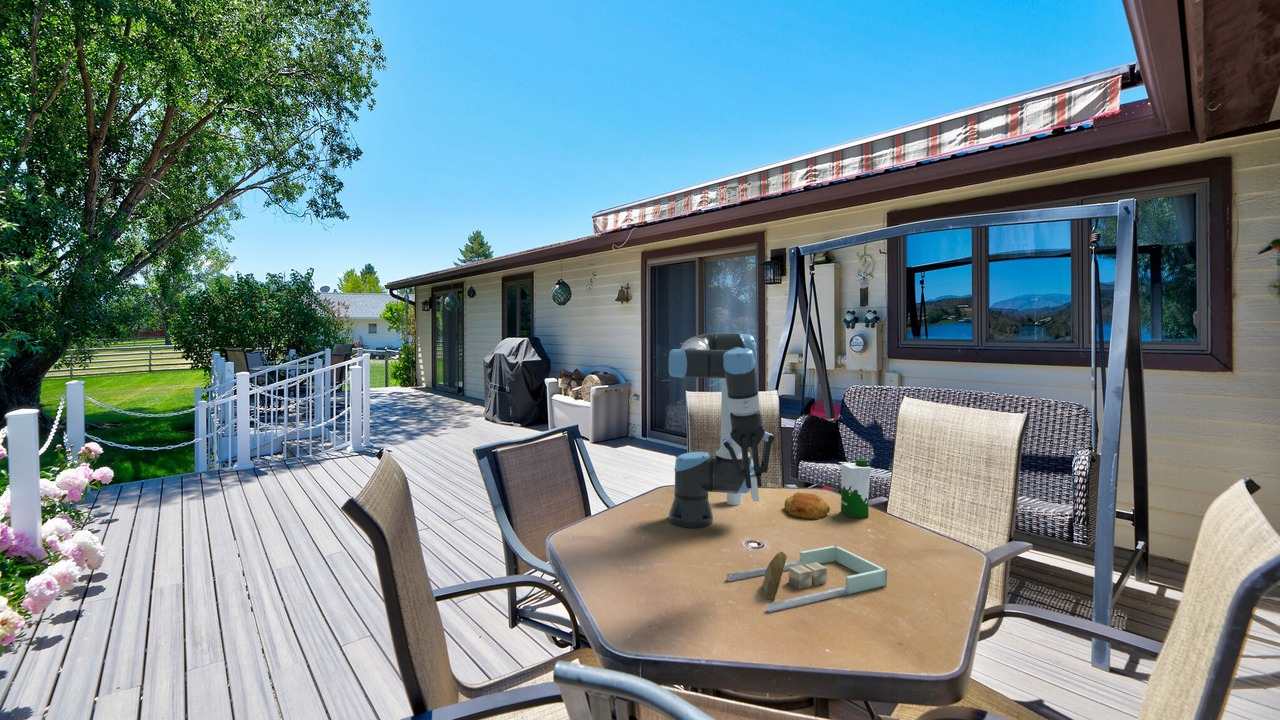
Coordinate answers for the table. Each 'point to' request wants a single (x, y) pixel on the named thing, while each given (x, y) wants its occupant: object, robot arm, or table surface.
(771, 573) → the rock
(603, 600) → the table surface
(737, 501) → the drinking glass
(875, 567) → the tray pen
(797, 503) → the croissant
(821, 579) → the beige cube
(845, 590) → the slot rails
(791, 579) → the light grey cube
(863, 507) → the milk carton
